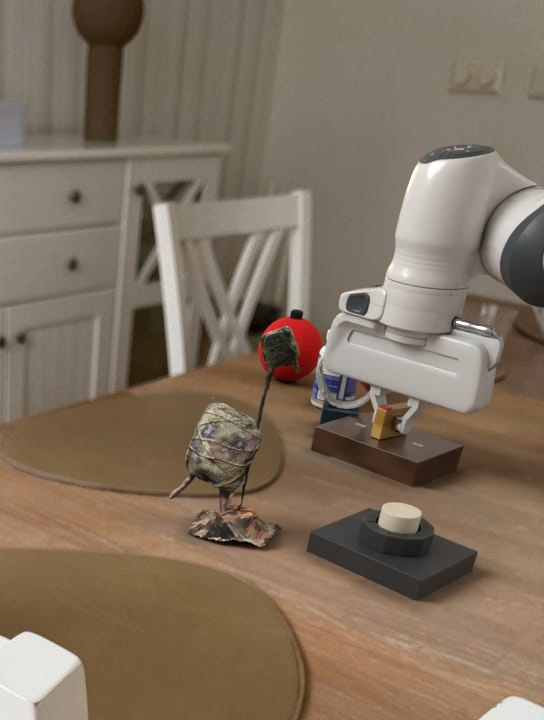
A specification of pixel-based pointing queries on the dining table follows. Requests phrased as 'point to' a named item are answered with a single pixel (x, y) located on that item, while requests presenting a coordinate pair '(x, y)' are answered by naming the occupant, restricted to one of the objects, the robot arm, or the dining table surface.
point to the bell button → (400, 518)
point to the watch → (336, 400)
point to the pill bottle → (333, 385)
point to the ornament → (306, 342)
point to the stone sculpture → (234, 454)
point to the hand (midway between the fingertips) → (390, 428)
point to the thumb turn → (387, 420)
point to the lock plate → (387, 450)
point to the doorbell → (392, 554)
